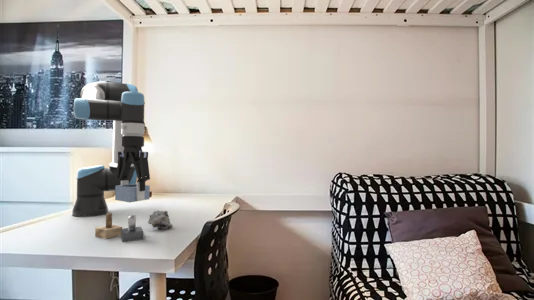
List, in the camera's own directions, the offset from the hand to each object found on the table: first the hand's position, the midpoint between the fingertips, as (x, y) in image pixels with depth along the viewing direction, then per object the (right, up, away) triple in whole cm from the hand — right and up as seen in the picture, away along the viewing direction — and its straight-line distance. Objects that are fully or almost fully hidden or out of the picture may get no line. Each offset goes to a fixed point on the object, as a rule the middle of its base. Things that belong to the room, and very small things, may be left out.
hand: (132, 199), depth 109 cm
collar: (0, 0, 0) cm, 0 cm away
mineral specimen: (+5, -14, +14) cm, 21 cm away
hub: (0, -14, 0) cm, 14 cm away
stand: (-10, -14, +4) cm, 18 cm away
